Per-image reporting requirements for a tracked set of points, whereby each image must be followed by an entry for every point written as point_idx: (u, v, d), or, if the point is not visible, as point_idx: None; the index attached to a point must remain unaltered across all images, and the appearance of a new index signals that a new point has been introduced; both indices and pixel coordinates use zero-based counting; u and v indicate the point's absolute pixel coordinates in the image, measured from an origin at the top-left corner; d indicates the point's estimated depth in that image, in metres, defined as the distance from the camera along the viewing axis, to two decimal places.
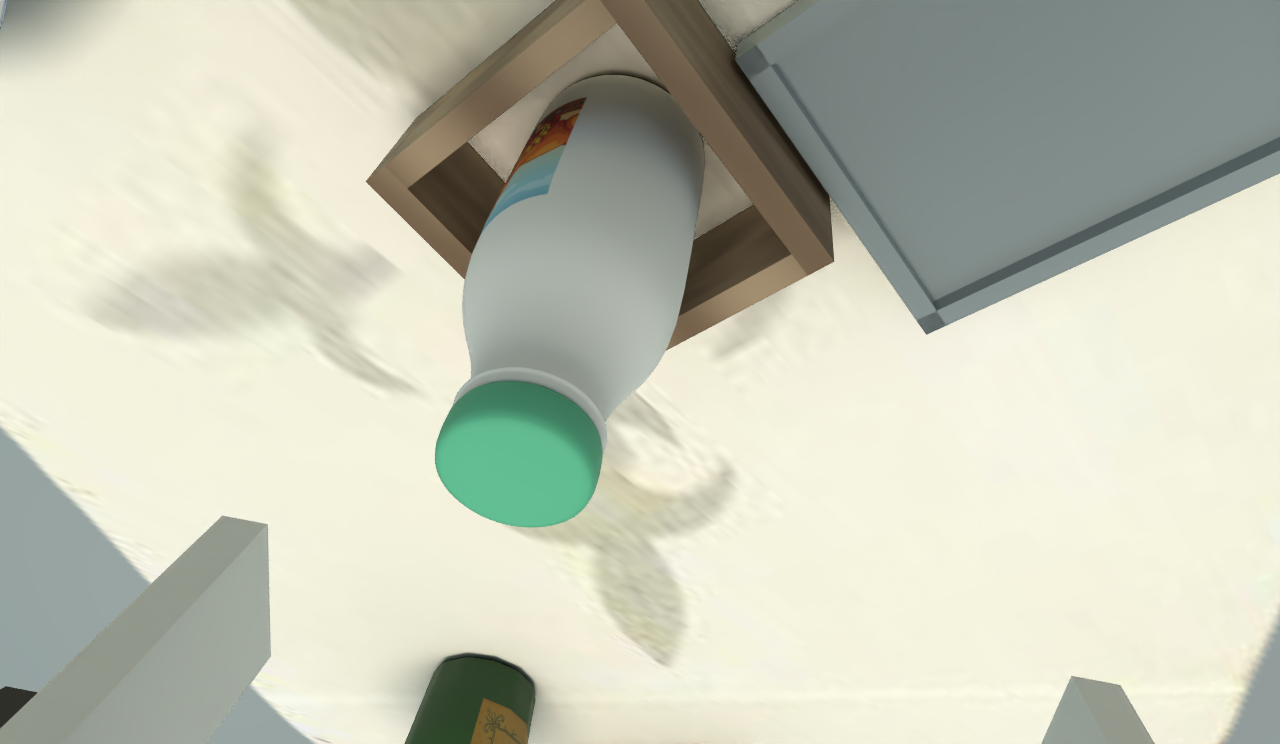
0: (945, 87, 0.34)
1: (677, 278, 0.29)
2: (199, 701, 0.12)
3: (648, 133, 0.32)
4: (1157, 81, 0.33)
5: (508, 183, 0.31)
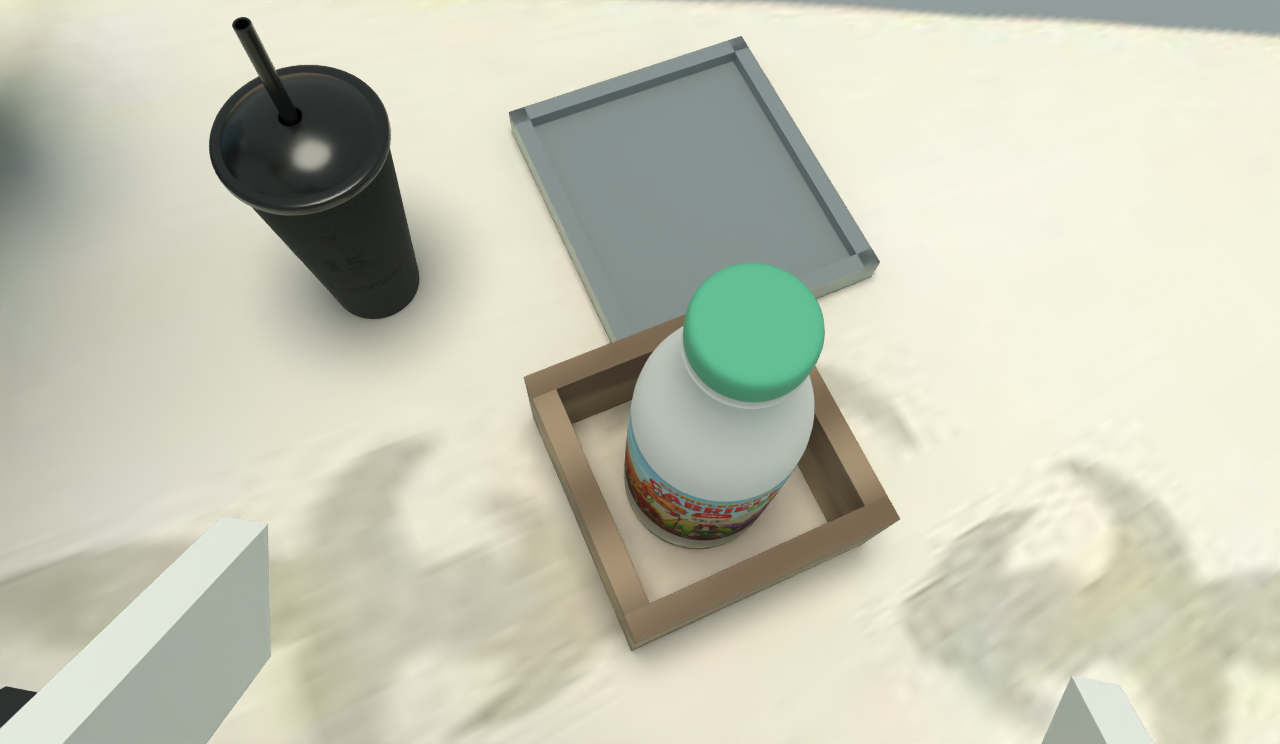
0: (678, 245, 0.50)
1: None
2: (199, 701, 0.12)
3: None
4: (697, 138, 0.53)
5: (642, 479, 0.38)
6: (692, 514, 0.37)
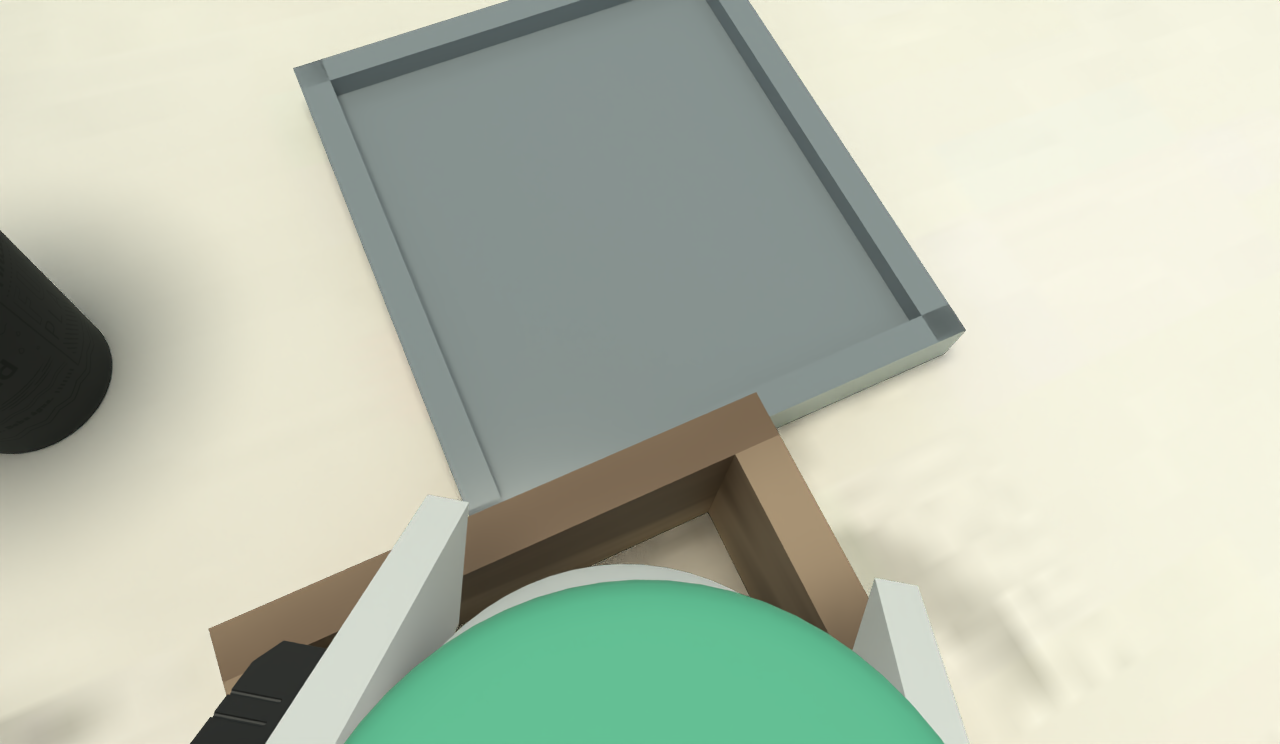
0: (592, 303, 0.27)
1: None
2: None
3: None
4: (630, 110, 0.30)
5: None
6: None
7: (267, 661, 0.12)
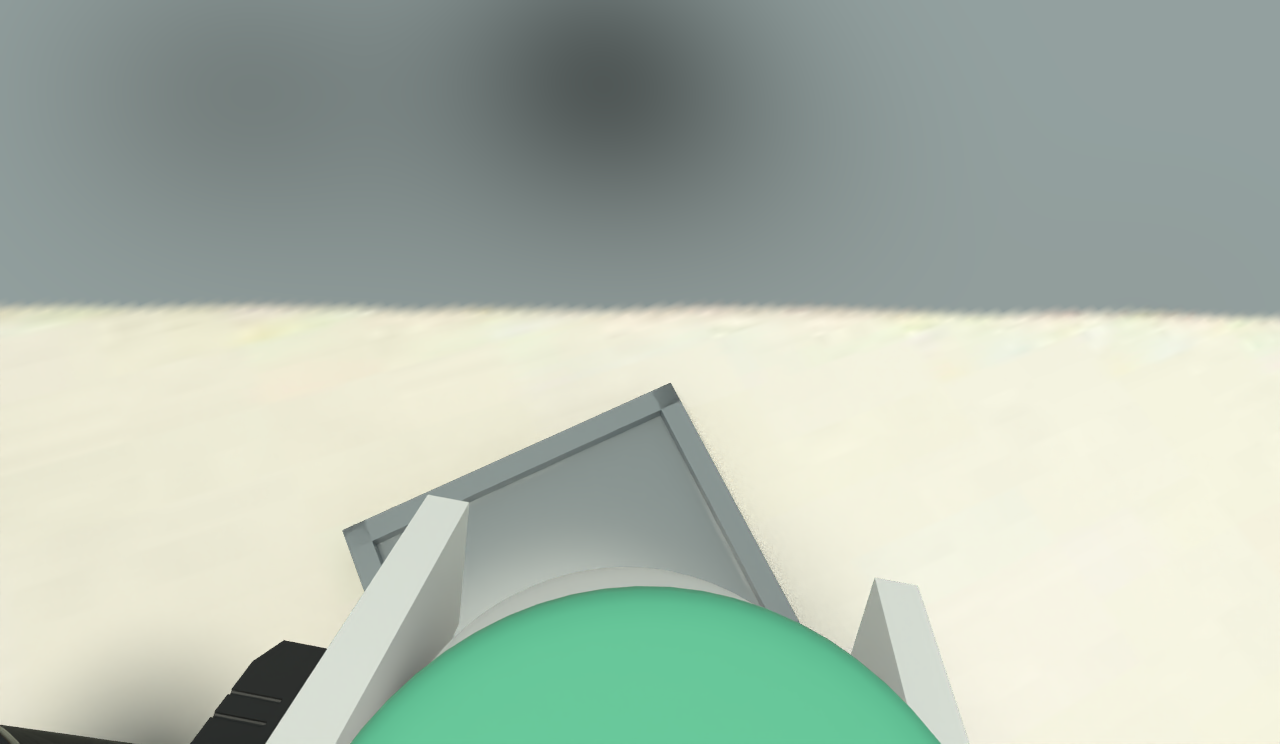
0: None
1: None
2: (425, 659, 0.14)
3: None
4: (610, 548, 0.38)
5: None
6: None
7: (267, 661, 0.12)
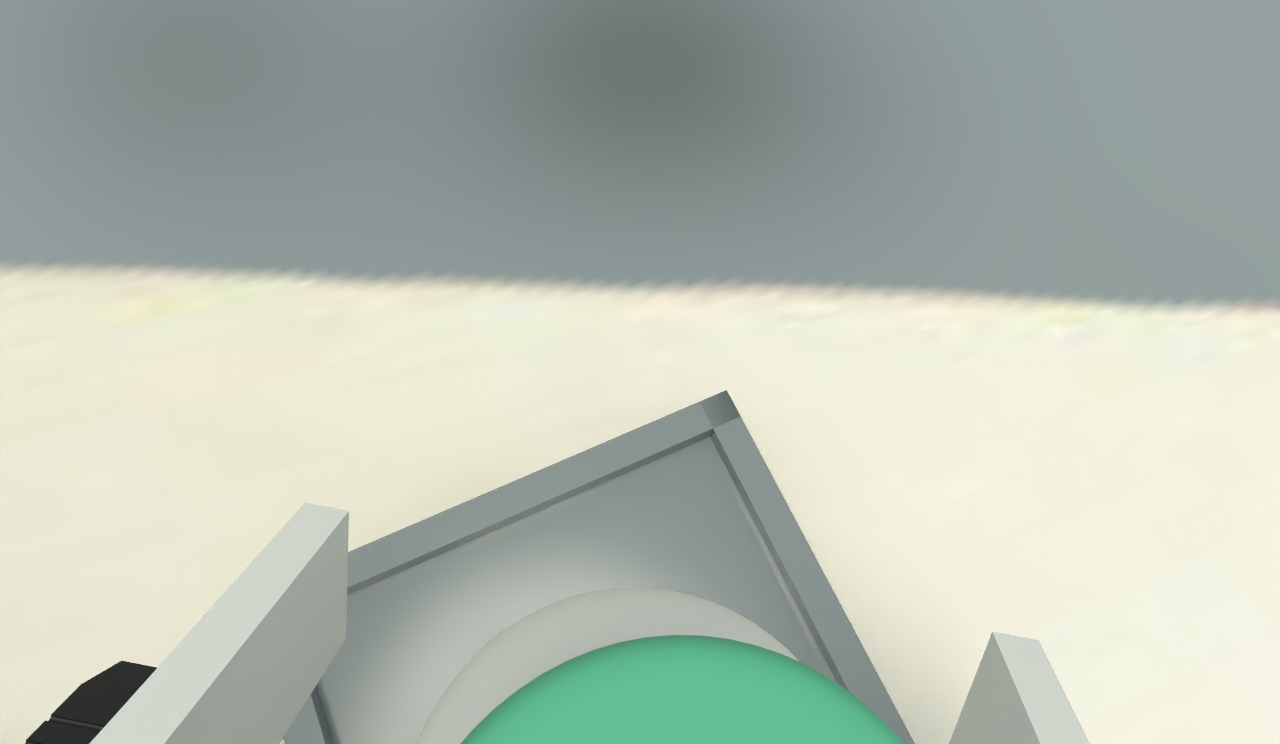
0: None
1: None
2: (291, 678, 0.13)
3: None
4: None
5: None
6: None
7: (97, 684, 0.11)
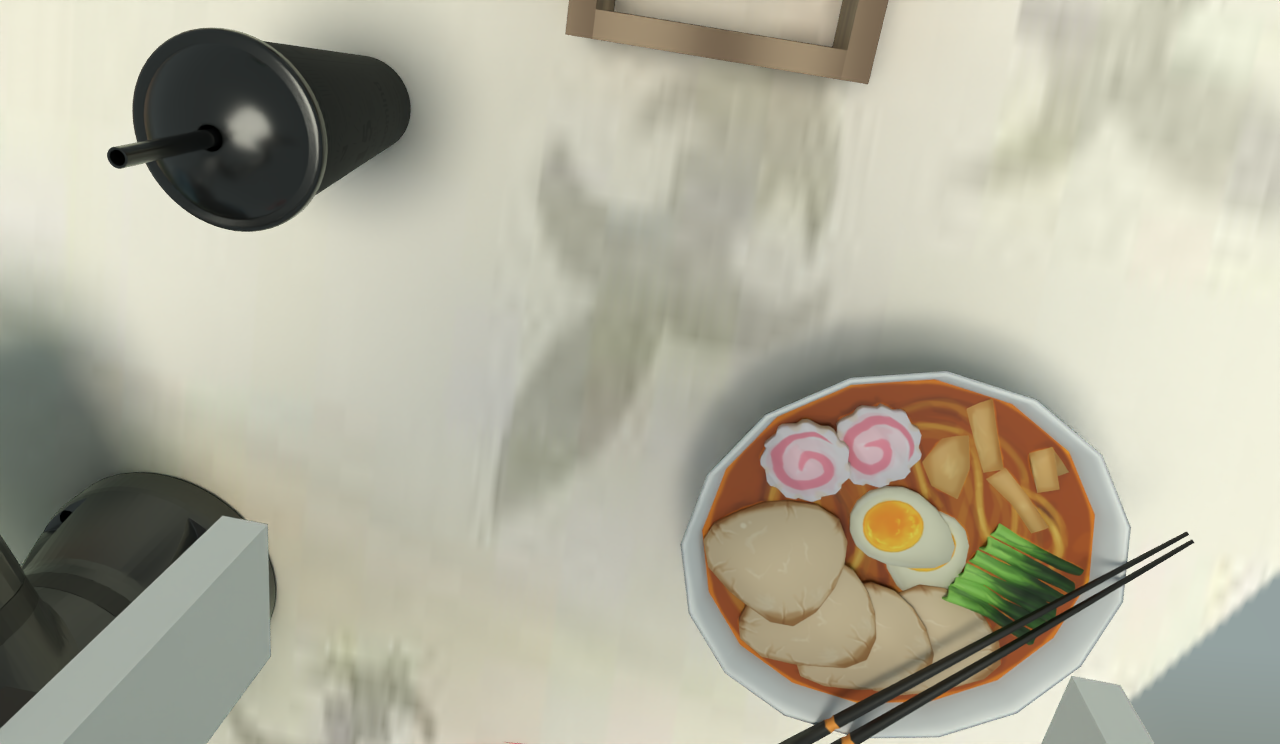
0: None
1: None
2: (199, 701, 0.12)
3: None
4: None
5: None
6: None
7: None
